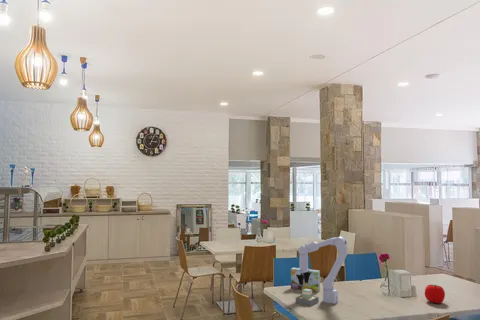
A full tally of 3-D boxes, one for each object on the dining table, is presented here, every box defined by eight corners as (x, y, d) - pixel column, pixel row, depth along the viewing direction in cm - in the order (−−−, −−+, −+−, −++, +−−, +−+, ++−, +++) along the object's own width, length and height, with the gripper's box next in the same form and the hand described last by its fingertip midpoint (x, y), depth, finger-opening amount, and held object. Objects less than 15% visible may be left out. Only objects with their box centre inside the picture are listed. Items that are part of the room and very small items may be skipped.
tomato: (434, 305, 259) (433, 287, 260) (419, 300, 272) (419, 282, 273) (449, 304, 262) (449, 286, 263) (434, 298, 275) (434, 281, 276)
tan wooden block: (315, 302, 262) (315, 297, 263) (310, 305, 256) (310, 300, 256) (304, 299, 267) (304, 295, 268) (298, 302, 261) (298, 297, 261)
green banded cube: (312, 297, 262) (312, 289, 262) (309, 299, 258) (309, 291, 259) (305, 296, 265) (305, 288, 265) (302, 297, 261) (302, 290, 261)
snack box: (290, 289, 299) (290, 268, 300) (293, 287, 304) (293, 267, 305) (318, 292, 289) (318, 271, 290) (320, 290, 294) (320, 270, 295)
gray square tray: (318, 303, 263) (318, 296, 263) (311, 307, 254) (311, 300, 254) (303, 300, 269) (303, 294, 269) (295, 304, 260) (295, 297, 261)
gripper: (303, 261, 280) (303, 281, 280) (293, 264, 269) (293, 285, 268) (312, 262, 276) (312, 282, 275) (302, 265, 265) (302, 286, 264)
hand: (303, 283), depth 271 cm, fingers open, 7 cm apart
